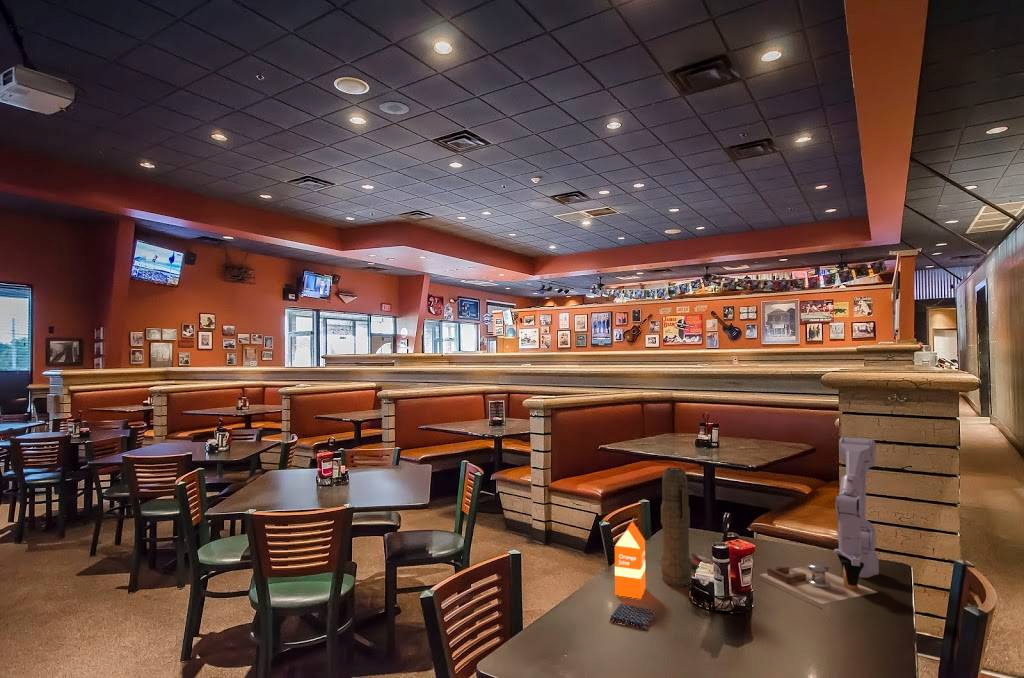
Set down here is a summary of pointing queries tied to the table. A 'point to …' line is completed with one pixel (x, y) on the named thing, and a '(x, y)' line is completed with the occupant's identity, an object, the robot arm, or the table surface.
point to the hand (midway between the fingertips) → (850, 582)
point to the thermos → (675, 528)
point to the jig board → (821, 594)
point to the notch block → (781, 575)
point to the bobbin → (818, 575)
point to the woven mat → (633, 616)
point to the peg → (847, 582)
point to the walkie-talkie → (697, 561)
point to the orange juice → (630, 564)
